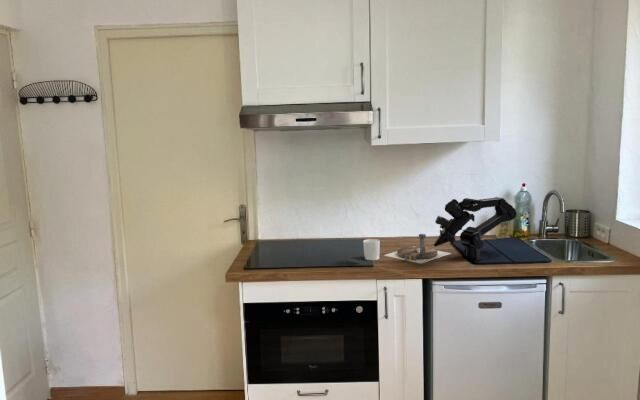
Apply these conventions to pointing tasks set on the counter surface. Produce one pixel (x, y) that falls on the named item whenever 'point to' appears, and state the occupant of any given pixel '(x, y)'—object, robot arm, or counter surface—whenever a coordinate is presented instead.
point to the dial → (418, 250)
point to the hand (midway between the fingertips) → (434, 245)
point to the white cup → (371, 249)
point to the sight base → (395, 255)
